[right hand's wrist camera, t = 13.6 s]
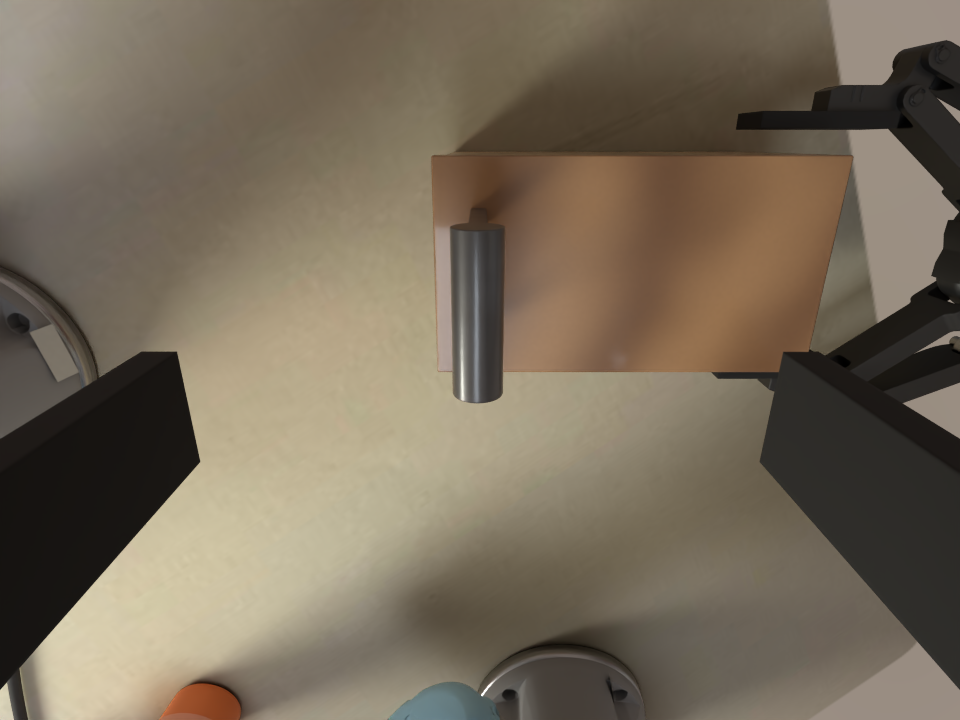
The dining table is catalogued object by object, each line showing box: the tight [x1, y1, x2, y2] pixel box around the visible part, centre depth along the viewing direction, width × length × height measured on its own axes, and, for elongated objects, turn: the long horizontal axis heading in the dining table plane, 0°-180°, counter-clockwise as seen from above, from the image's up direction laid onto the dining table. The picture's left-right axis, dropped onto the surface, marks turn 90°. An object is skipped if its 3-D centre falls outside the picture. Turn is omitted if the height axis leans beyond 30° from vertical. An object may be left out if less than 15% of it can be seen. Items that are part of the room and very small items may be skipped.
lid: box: [431, 155, 853, 403], centre depth 22 cm, size 18×10×9 cm, turn 90°
